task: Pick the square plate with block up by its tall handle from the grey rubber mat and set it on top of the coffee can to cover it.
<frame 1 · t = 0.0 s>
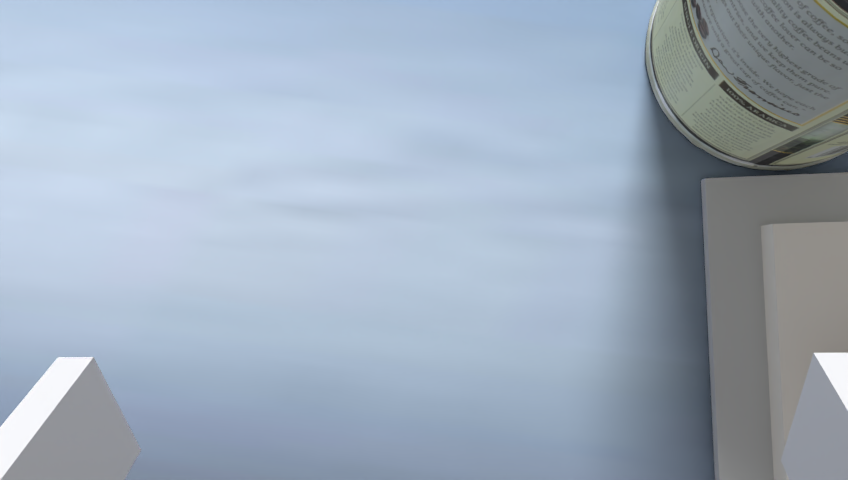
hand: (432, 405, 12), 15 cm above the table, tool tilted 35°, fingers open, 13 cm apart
coffee can: (769, 49, 26), on the table
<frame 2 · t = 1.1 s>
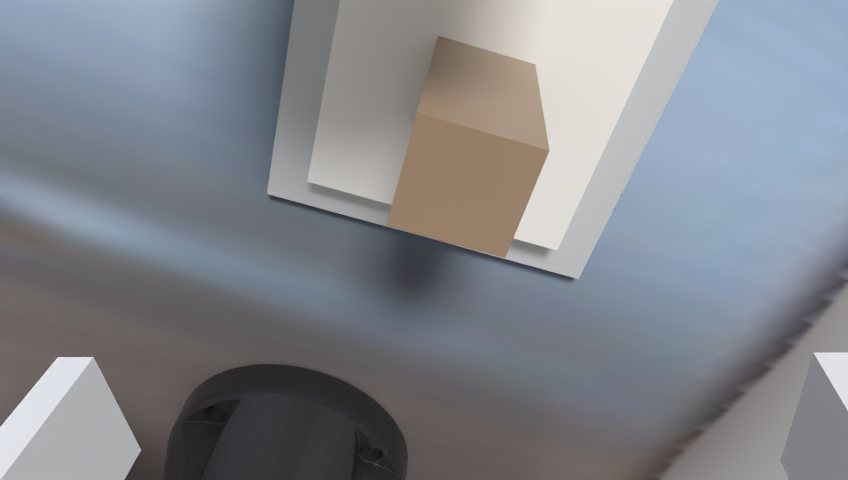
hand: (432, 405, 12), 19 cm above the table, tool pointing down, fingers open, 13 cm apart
mat: (473, 82, 28), on the table
square plate with block: (472, 86, 27), point 1 cm above the table, touching mat
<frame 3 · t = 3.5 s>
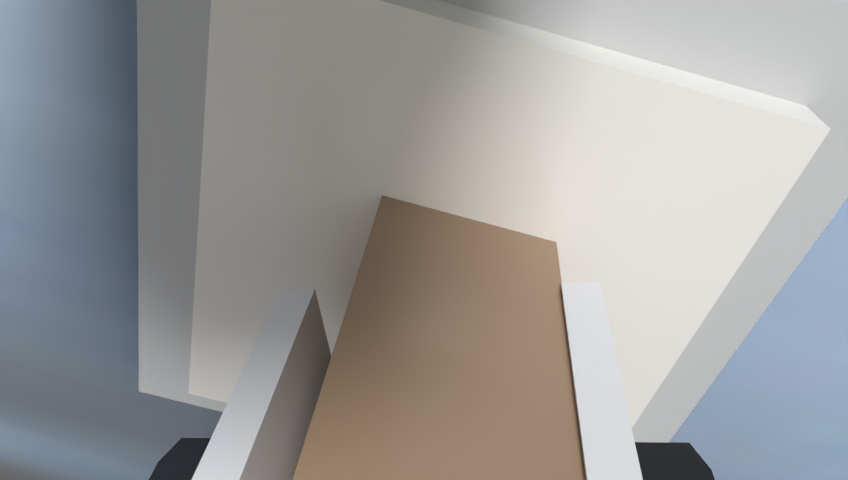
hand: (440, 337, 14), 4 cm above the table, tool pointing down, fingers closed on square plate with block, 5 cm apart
mat: (451, 245, 17), on the table
square plate with block: (449, 258, 16), point 1 cm above the table, touching gripper, mat
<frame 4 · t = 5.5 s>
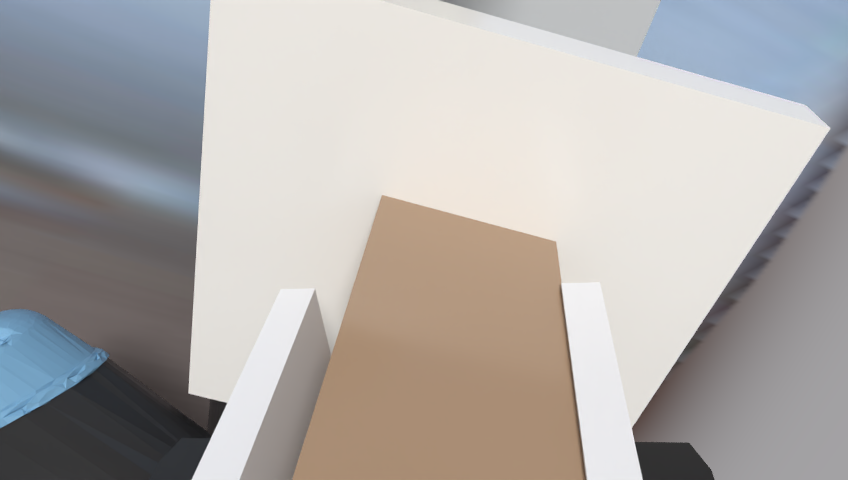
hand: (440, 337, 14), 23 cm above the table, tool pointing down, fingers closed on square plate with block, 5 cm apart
mat: (470, 52, 33), on the table
square plate with block: (449, 258, 16), point 20 cm above the table, touching gripper
when the fingers open (19 cm above the table, at t = 7.9 s): square plate with block drops 2 cm, resting on coffee can.
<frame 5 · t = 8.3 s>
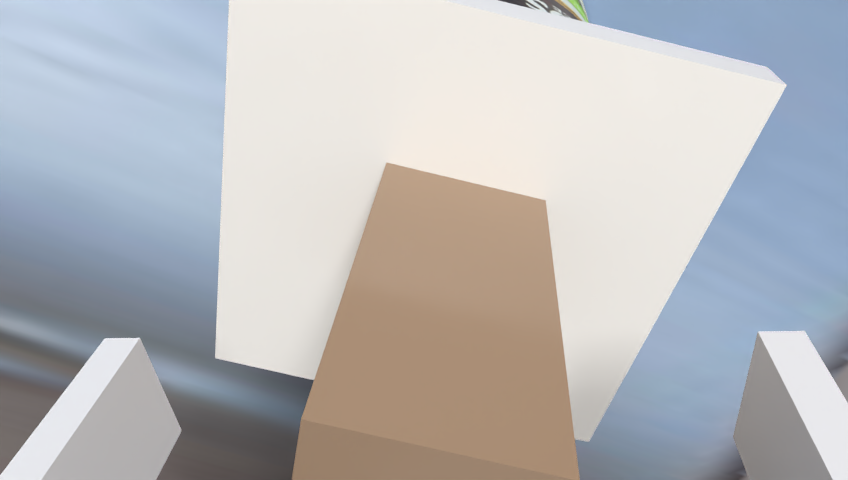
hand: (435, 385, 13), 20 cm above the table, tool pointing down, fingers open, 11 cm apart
square plate with block: (450, 223, 18), point 14 cm above the table, touching coffee can
coffee can: (474, 53, 29), on the table, touching square plate with block
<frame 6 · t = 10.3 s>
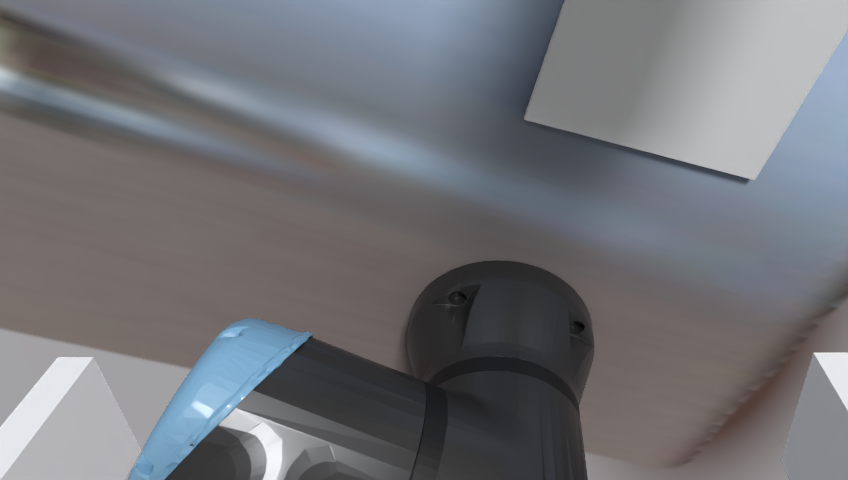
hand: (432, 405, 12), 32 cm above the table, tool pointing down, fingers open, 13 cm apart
mat: (694, 29, 38), on the table
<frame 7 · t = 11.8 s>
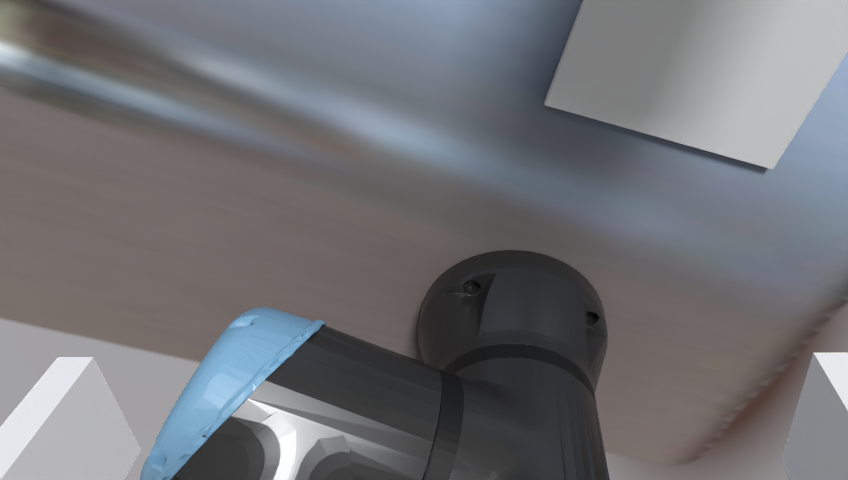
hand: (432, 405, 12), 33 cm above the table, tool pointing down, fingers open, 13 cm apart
mat: (717, 15, 38), on the table
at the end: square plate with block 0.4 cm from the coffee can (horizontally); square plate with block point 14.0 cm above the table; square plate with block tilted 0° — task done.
